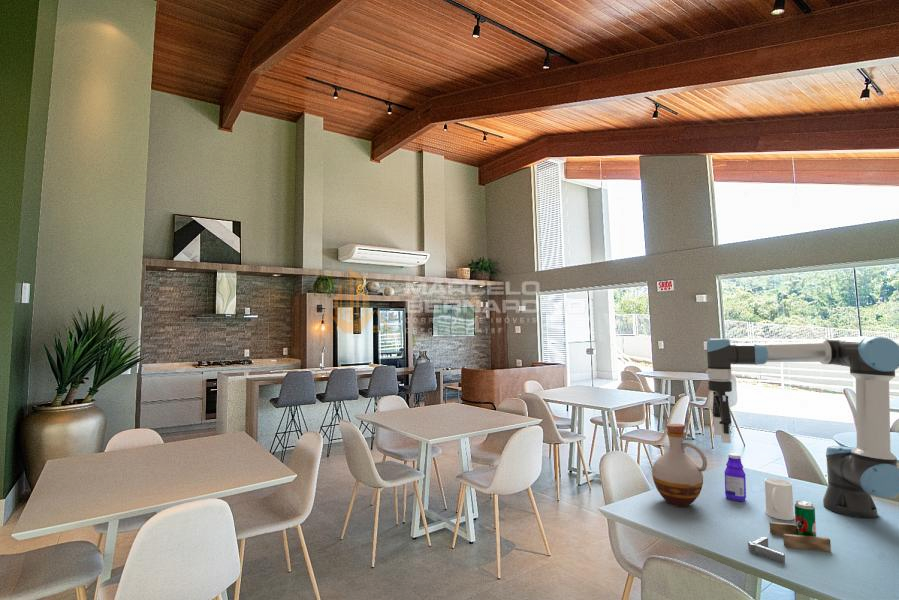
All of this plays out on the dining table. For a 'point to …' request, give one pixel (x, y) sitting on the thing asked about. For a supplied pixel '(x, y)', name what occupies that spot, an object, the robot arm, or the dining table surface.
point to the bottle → (735, 478)
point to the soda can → (805, 519)
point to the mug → (779, 499)
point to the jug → (678, 470)
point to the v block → (765, 550)
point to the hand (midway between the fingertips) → (722, 438)
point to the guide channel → (799, 538)
